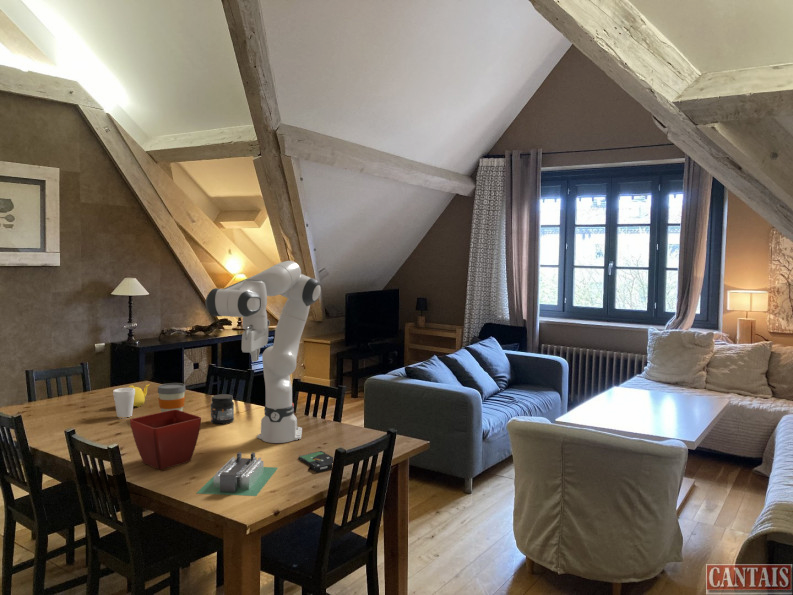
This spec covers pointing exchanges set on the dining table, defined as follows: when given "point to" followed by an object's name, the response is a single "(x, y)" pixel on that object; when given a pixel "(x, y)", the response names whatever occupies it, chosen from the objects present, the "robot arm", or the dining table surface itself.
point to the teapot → (139, 395)
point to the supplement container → (222, 409)
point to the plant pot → (166, 437)
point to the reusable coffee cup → (171, 396)
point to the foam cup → (124, 401)
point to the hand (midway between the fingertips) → (255, 360)
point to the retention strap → (240, 465)
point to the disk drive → (317, 461)
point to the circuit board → (253, 491)
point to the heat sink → (240, 481)
